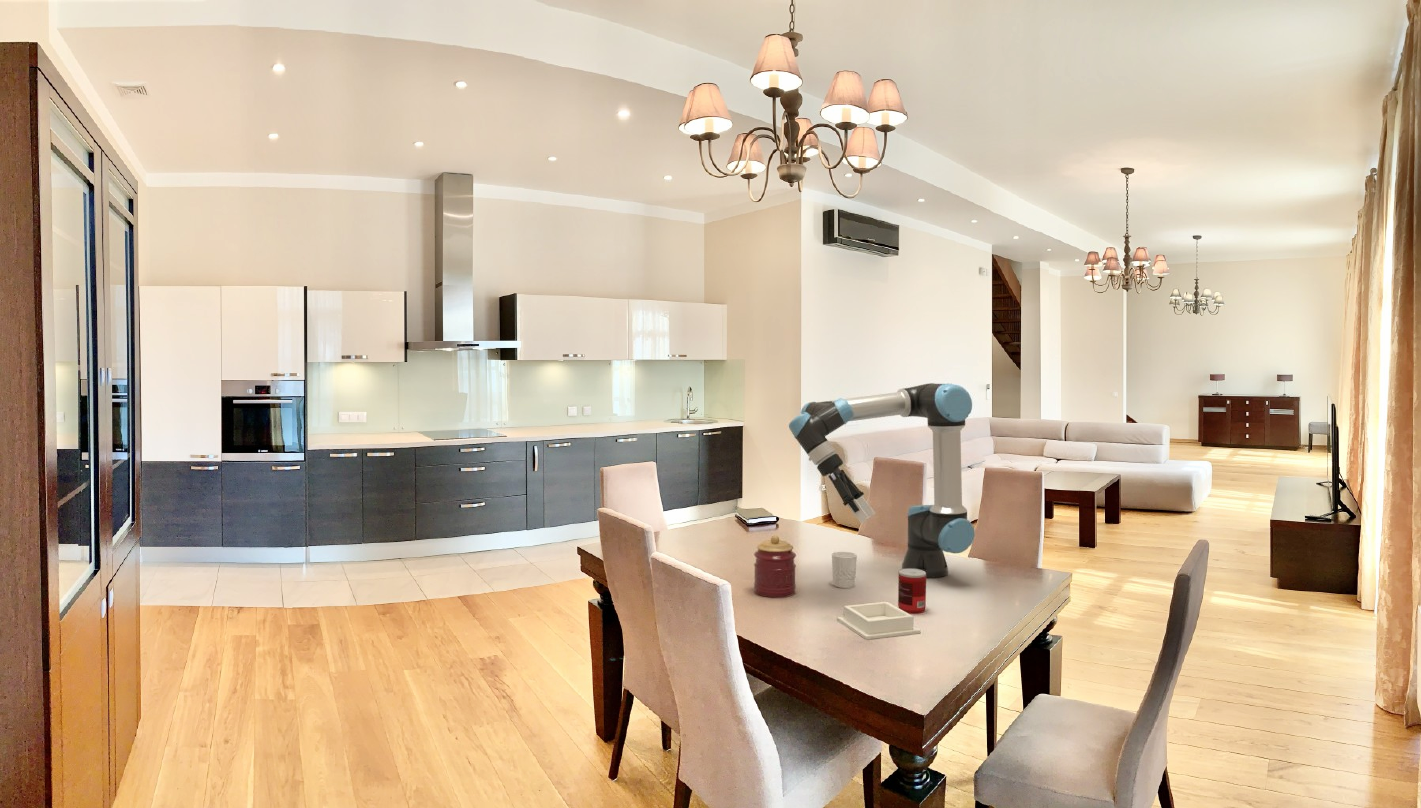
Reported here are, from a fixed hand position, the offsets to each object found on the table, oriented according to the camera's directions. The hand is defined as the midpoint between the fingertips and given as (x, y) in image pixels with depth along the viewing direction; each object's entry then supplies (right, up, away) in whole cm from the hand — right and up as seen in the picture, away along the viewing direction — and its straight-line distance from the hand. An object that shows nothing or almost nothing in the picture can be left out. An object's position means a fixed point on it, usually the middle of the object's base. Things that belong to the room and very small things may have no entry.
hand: (868, 518), depth 225 cm
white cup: (-4, -25, +20) cm, 32 cm away
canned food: (+12, -26, -5) cm, 29 cm away
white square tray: (-2, -26, -20) cm, 33 cm away
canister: (-27, -25, +12) cm, 38 cm away
